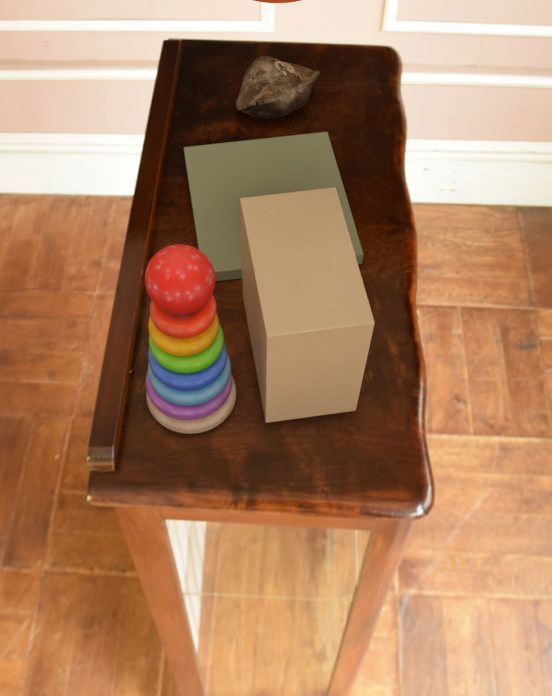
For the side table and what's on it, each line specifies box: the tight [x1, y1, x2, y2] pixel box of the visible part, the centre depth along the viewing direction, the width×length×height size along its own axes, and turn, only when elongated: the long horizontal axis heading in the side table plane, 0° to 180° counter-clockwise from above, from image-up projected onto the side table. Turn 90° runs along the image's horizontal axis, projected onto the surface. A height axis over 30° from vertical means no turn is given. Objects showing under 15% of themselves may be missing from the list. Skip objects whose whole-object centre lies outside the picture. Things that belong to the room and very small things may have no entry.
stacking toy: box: [144, 243, 238, 435], centre depth 62 cm, size 8×8×19 cm
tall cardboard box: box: [240, 187, 376, 424], centre depth 66 cm, size 8×14×14 cm, turn 9°
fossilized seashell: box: [234, 55, 321, 120], centre depth 88 cm, size 8×7×10 cm
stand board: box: [183, 131, 364, 282], centre depth 81 cm, size 16×18×2 cm
